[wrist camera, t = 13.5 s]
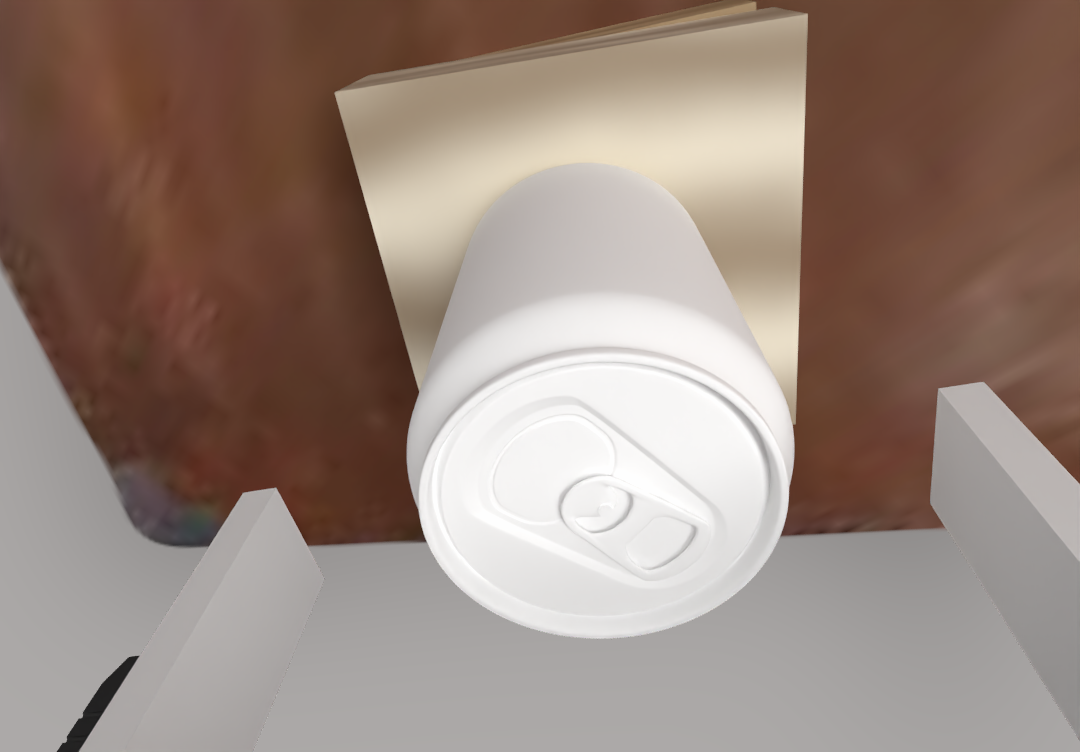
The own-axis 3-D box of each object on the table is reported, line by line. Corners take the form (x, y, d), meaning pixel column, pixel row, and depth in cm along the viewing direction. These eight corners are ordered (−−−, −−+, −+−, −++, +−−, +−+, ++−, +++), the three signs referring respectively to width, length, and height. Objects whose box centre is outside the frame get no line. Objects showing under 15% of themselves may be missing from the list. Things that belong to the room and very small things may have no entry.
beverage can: (558, 102, 21) (557, 232, 11) (754, 253, 23) (909, 483, 13) (421, 301, 24) (318, 546, 14) (603, 416, 27) (630, 701, 16)
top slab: (369, 75, 25) (334, 92, 21) (774, 7, 23) (807, 13, 20) (453, 405, 32) (438, 458, 28) (771, 371, 30) (795, 423, 26)
